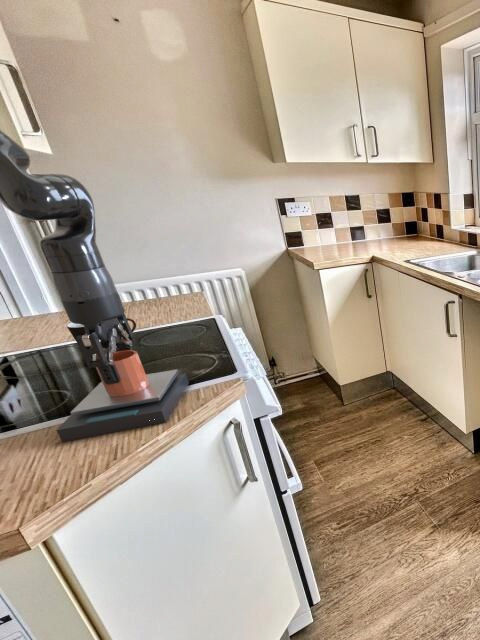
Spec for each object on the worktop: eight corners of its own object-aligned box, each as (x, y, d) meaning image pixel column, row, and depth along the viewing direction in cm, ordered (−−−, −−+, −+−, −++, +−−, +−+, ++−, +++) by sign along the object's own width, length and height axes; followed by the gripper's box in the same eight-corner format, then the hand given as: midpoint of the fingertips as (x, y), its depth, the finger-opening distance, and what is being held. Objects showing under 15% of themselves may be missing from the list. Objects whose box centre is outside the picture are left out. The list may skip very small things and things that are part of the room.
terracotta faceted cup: (102, 399, 80) (87, 366, 77) (115, 385, 85) (102, 353, 82) (143, 392, 82) (129, 360, 79) (153, 378, 87) (141, 347, 84)
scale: (62, 442, 74) (55, 428, 72) (103, 397, 88) (98, 385, 87) (166, 422, 79) (160, 409, 78) (189, 383, 93) (185, 371, 92)
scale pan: (72, 416, 76) (70, 412, 75) (103, 384, 87) (101, 381, 86) (159, 400, 80) (158, 397, 80) (178, 372, 91) (177, 369, 91)
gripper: (80, 286, 80) (113, 363, 87) (39, 307, 68) (80, 394, 75) (129, 281, 83) (157, 356, 89) (97, 301, 71) (132, 386, 77)
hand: (122, 373), depth 82 cm, fingers open, 8 cm apart
